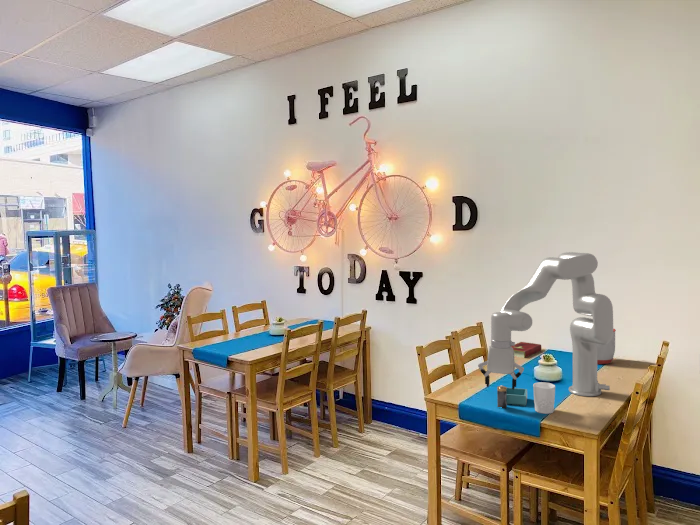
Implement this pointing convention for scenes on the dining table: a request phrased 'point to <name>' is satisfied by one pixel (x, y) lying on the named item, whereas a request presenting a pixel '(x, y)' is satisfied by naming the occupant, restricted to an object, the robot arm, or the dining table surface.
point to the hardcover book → (525, 349)
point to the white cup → (544, 397)
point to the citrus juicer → (606, 351)
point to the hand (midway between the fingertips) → (500, 387)
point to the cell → (502, 396)
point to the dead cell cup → (517, 396)
